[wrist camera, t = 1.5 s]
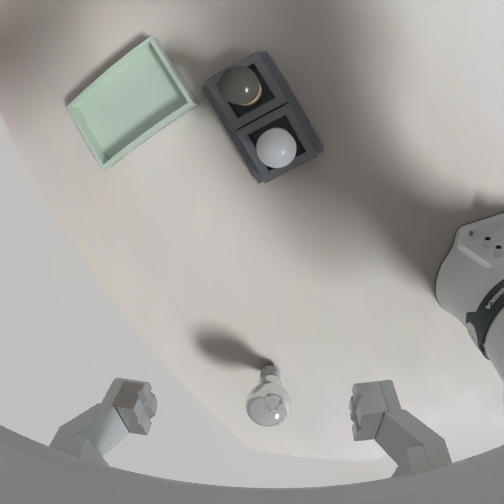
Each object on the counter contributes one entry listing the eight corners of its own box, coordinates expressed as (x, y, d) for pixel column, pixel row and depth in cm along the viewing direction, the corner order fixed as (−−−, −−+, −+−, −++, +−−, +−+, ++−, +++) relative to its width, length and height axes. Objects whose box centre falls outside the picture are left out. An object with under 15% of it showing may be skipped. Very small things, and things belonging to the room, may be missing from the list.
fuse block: (266, 52, 33) (265, 46, 30) (323, 149, 37) (327, 152, 34) (203, 88, 36) (196, 86, 32) (259, 182, 40) (257, 188, 37)
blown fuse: (253, 72, 33) (245, 59, 25) (269, 97, 35) (266, 91, 26) (226, 87, 34) (211, 78, 26) (242, 112, 36) (230, 111, 27)
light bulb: (243, 372, 53) (235, 426, 42) (262, 347, 50) (256, 403, 40) (278, 385, 54) (276, 439, 43) (299, 362, 51) (300, 417, 40)
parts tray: (158, 39, 33) (150, 35, 31) (198, 104, 36) (193, 103, 34) (76, 106, 37) (66, 106, 35) (111, 166, 40) (102, 169, 38)
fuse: (283, 121, 36) (284, 121, 27) (298, 147, 37) (303, 156, 29) (256, 135, 37) (248, 140, 28) (271, 161, 38) (268, 174, 30)
